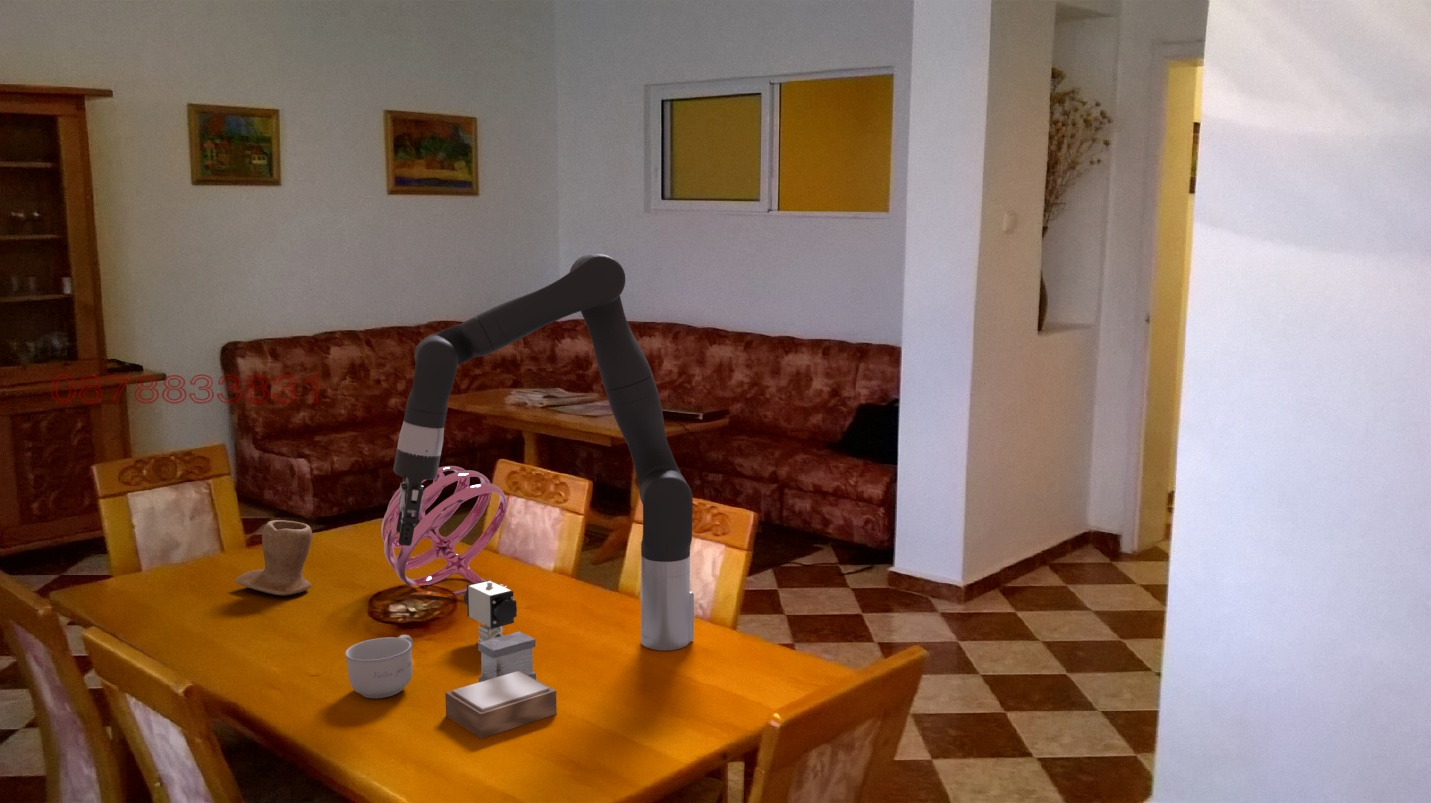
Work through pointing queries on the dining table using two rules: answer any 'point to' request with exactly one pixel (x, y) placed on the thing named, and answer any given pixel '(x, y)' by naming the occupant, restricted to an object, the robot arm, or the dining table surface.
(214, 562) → the dining table surface
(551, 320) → the robot arm
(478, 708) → the stand
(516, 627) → the dining table surface
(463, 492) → the spiral basket
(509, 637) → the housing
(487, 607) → the pneumatic valve
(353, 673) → the teacup
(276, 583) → the brown top hat
